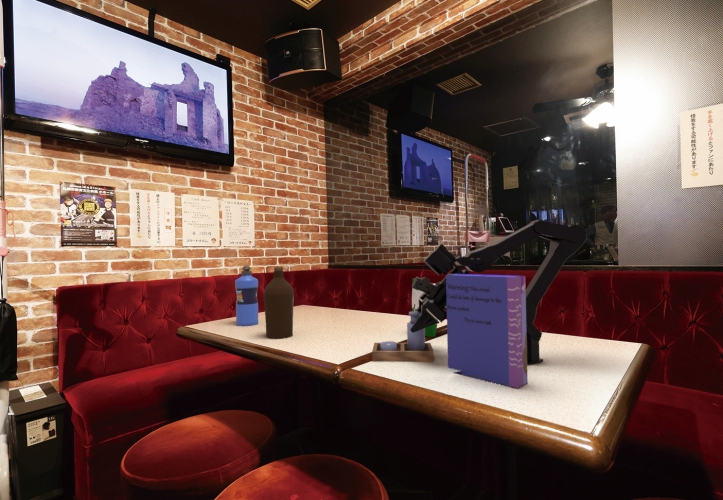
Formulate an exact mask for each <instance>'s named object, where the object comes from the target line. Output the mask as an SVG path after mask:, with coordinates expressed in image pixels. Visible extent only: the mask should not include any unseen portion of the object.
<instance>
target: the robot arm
mask: <svg viewBox="0 0 723 500" xmlns="http://www.w3.org/2000/svg"><path fill="white" fill-rule="evenodd" d="M537 237H540V238H543V239H545V240H548V241H550V242H549V249H548V252H547V255H546V256H545V258H544V260H543V261H542V263H541V264H540V266H539V267H538V269H537V271H536V273H535V274H534V276H533V277H532V279H531V280H530V282H529V283H528V285H527V287H526V288H525V290H526V334H527V366H528V365H529V366H530V365H533V364H536V363H541V362H544V359H543V358H541V357H540V341H541V338H542V335H543V332H542V331H541V330H540V329H538V328H537V327H536V325H534V323H535V320H536V318H537V317H536V316H537V310H538V306H539V304H540V303H541V301H542V300H543V297H544V296H545V295H546V293H547V291H548V289H549V288H550V286H551V285H552V283H553V282H554V280H555V278H556V277H557V275H558V274H559V272H560V270H561V269H562V267H563V265H564V264H565V263H566V261H567V260H568V259H569V258H570V257H571V256H573V255H574V254H575V253H576V252H578V251H579V249H580V248H582V246H583V245H584V244H585V243H586V241H587V240H588V234H587V231H586V229H585V228H584V227H583V226H581V225H578V224H570V225H565V224H562V223H561V224H560V223H555V222H550V221H545V220H543V219H537V220H532V221H530V222H529V223H528V224H527V225H525V226H523V227H522V228H519V229H518V230H516V231H514V232H512V233H510V234H509V235H507V236H505V237H503V238H501V239H499V240H498V241H495V242H494V243H492V244H489V245H487V246H483V247H480V248H477V249H474V250H471V251H468V252H466V253H465V255H464V256H459V255H458V256H454V255H453V254H452V253H451V251H449V250H448V249H447V248H446V246H445V245H444V244H441V243H440V244H439V246H437V247H436V248H434V250H433V251H431V252H430V253H429V254H428V255H427V256H426V257H425V258H424V259H423V262H424V263H425V264H426V265H427V266H428V267H429V268H430V269H431V270H432V271H433V272H434V273H436V275H438V276H439V275H441V274H442V275H443V276H445V277H444V278H443V279H442V280H441V281H437V282H436V283H431V280H430V278H427V277H426V276H423V277H418V276H416V277H414V278H415V280H414V283H413V282H412V284H413V285H411V288H413V289H415V290H420V291H422V292H424V293H423V294H422V295H421V296H420V299H422V300H420V299H419V300H418V301H419V307H418V309H417V311H419V312H421V314H420V316H419V317H418V319H417V320H416V322H415V323H414V324H413V326H412V327H411V329H410V331H411V332H412V333H414V332H416V331H419V330H421V329H424V328H426V327H429V326H432V325H435V324H437V325H438V324H440V323H443V322H444V321H445V320H447V296H446V275H448V274H471V273H470V272H472V273H473V272H474V273H477V274H479V273H483V272H485V271H487V269H489V268H490V267H492V266H493V264H495V263H496V262H497V261H498V260H499V259H500V258H501V257H503V256H504V255H506V254H509V253H510V252H511V251H513V250H516V249H517V248H520V247H521V246H523V245H525V244H526V243H528V242H530V241H531V240H534V239H535V238H537ZM458 266H461V267H465V268H466V269H463V270H462V269H461V268H459V267H458ZM421 278H422V279H421ZM434 284H435V285H434ZM409 322H411V319H410V321H409Z"/></svg>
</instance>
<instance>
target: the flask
mask: <svg viewBox="0 0 723 500" xmlns="http://www.w3.org/2000/svg"><path fill="white" fill-rule="evenodd" d="M420 314H421V312H419V311H412V310H411V311H408V315H409V316H410V320H411V322H410V321H409V322H407V323H406V333H407V334H406V335H407V336H406V337H407V338H406V339H407V340H406V341H407V342H406V343H407V345H408V351H425V343H426V337H425V328H424V329H421V330H419V331H416V332H414V333H412V332H411V331H410V329H411V327H412V326H413V324H414V323H415V322H416V320H417V319H418V317H419V316H420Z"/></svg>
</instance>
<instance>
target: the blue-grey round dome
mask: <svg viewBox="0 0 723 500" xmlns="http://www.w3.org/2000/svg"><path fill="white" fill-rule="evenodd" d="M379 343H380V346H381V351H397V346H396V343H397V342H396V341H391V340H390V341H388V340H387V341H380V342H379Z"/></svg>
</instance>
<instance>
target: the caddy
mask: <svg viewBox="0 0 723 500" xmlns="http://www.w3.org/2000/svg"><path fill="white" fill-rule="evenodd" d="M380 343H381V342H374V344H373V347H372V351H371V353H372V354H371V355H372V356H371V358H372V360H371V361H372V362H393V363H395V362H398V363H400V362H403V363H405V362H408V363H410V362H411V363H422V362H423V363H434V362H435V355H434V353H435V351H434V349H433V347H432V343H431V342H425V351H408V345H407V342H396V346H397V351H381V346H380Z"/></svg>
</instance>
